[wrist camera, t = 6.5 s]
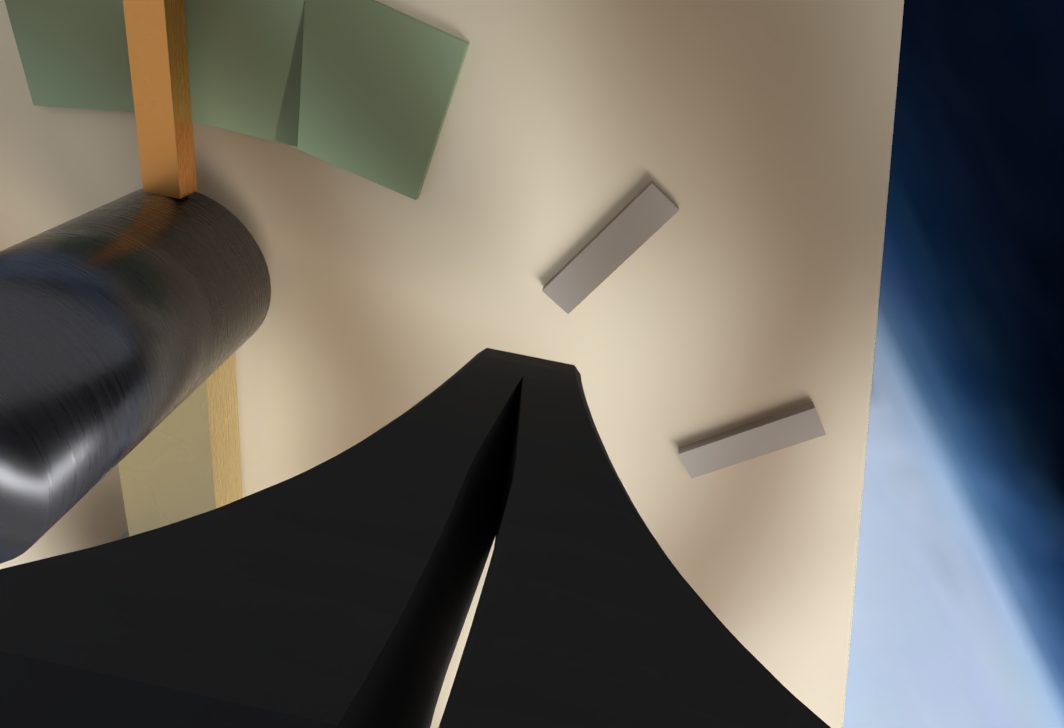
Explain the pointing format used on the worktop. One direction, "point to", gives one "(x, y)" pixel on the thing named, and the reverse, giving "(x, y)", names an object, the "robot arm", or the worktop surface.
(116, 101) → the dial board
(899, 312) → the worktop surface
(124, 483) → the lever
